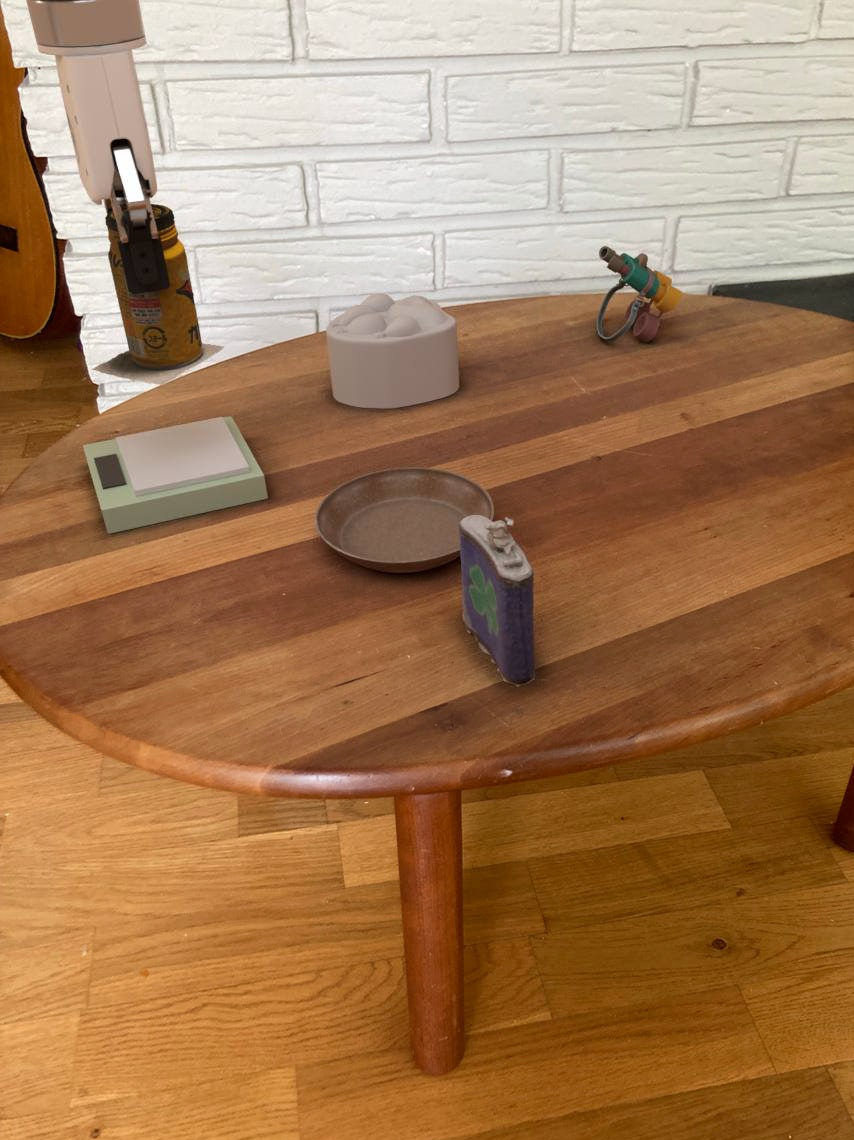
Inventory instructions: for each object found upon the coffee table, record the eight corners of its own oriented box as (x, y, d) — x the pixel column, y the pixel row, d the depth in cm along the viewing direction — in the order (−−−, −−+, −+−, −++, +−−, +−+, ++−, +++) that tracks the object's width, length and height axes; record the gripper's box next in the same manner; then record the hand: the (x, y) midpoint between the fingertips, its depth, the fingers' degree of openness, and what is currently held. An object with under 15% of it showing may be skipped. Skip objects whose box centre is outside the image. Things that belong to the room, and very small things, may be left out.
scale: (108, 534, 92) (99, 503, 90) (89, 467, 101) (81, 439, 100) (268, 498, 96) (263, 468, 94) (235, 438, 106) (230, 410, 104)
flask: (456, 619, 81) (452, 495, 75) (492, 609, 82) (490, 485, 75) (508, 691, 74) (508, 561, 68) (546, 679, 75) (550, 550, 69)
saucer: (409, 611, 82) (407, 581, 80) (281, 545, 90) (277, 517, 88) (530, 530, 91) (530, 503, 89) (404, 477, 99) (402, 450, 97)
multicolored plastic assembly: (639, 368, 122) (693, 292, 117) (574, 331, 118) (627, 250, 113) (620, 337, 129) (670, 263, 124) (558, 301, 125) (607, 223, 121)
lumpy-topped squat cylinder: (468, 393, 113) (465, 312, 107) (350, 418, 109) (341, 335, 103) (431, 357, 120) (427, 280, 115) (319, 379, 116) (310, 300, 111)
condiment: (225, 349, 93) (200, 204, 86) (163, 387, 87) (131, 235, 79) (157, 336, 95) (127, 195, 88) (92, 373, 89) (55, 224, 82)
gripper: (23, 12, 81) (82, 253, 92) (44, 47, 69) (110, 321, 80) (124, 4, 84) (170, 240, 95) (162, 36, 71) (210, 304, 82)
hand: (142, 275), depth 87 cm, fingers closed on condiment, 6 cm apart
